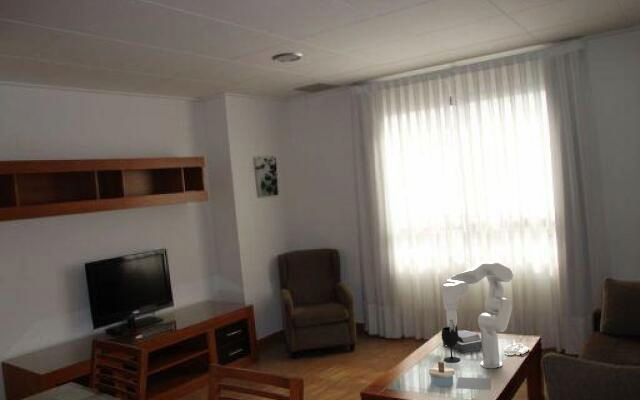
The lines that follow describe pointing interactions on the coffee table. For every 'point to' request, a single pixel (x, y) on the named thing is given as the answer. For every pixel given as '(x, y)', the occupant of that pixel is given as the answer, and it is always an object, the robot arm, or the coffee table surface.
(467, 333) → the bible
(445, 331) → the wine glass
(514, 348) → the white brass knuckles
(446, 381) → the bowl
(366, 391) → the coffee table surface
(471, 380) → the mat
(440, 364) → the lid
